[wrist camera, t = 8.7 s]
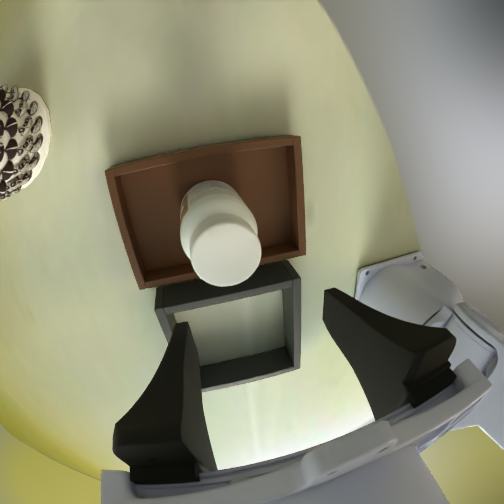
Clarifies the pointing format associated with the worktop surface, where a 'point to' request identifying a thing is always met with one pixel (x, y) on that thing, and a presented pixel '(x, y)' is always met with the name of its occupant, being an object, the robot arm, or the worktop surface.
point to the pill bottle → (219, 234)
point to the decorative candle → (22, 138)
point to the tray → (196, 171)
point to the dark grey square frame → (258, 283)
